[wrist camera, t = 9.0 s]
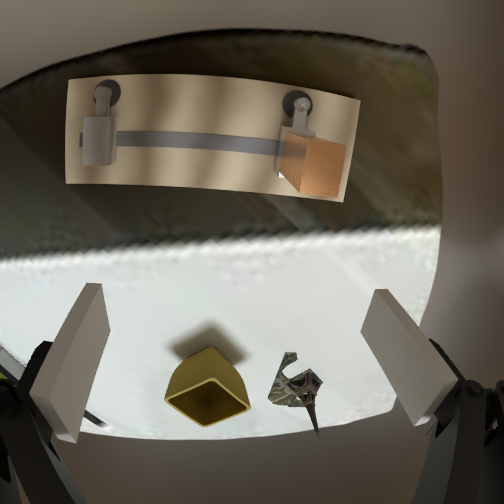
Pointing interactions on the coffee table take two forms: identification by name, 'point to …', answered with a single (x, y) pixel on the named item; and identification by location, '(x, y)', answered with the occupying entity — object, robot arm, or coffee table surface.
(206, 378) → the flower pot
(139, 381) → the coffee table surface
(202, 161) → the gauge board
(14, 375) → the tea box
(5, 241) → the coffee table surface
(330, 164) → the slide leg
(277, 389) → the eiffel tower figurine
